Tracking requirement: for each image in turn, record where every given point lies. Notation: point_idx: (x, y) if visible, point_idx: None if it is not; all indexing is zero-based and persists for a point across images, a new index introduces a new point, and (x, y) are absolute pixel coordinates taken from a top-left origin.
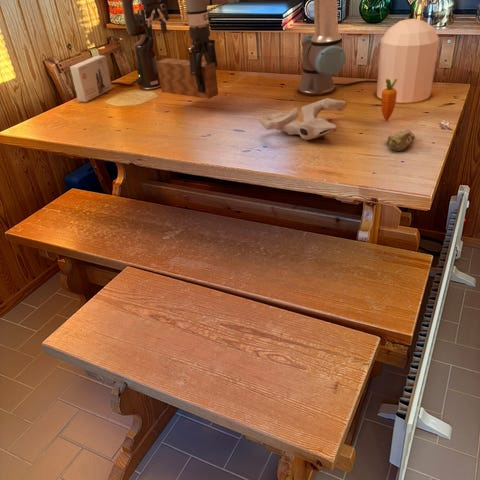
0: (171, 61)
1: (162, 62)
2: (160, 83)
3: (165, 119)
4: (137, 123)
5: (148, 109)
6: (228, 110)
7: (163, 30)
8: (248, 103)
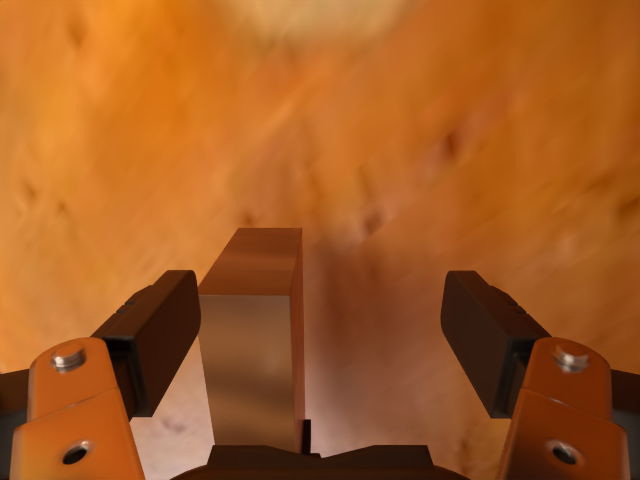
0: (238, 377)
1: (199, 342)
2: (228, 243)
3: (192, 265)
4: (112, 202)
5: (231, 129)
6: (342, 382)
7: (454, 315)
8: (413, 398)
